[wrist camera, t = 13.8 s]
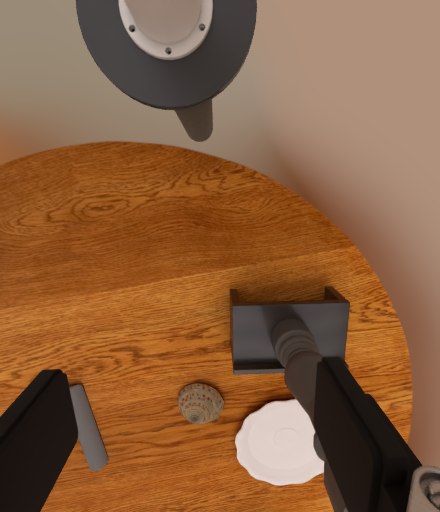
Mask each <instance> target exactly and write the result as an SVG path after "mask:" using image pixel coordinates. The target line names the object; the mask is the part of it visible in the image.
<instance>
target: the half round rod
mask: <svg viewBox="0 0 440 512" xmlns="http://www.w3.org/2000/svg"><path fill="white" fill-rule="evenodd" d="M69 388H70V393H71V398H72V403H73V407H74V412H75V417H76V422H77V427H78V439H79V441H80V444H81V447H82V449H83V452H84V455H85V457H86V460H87V463H88V465H89V468H90V469H91V470H93V471H97V470H100V469H102V468H103V467H104V466H105V465H106V464H107V461H108V456H107V454H106V451H105V448H104V445H103V442H102V439H101V437H100V434H99V431H98V428H97V425H96V422H95V419H94V417H93V414H92V411H91V408H90V405H89V402H88V400H87V397H86V394H85V391H84V388H83V386H82V385H79V384H78V385H72V386H69Z"/></svg>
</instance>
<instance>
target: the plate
mask: <svg viewBox="0 0 440 512" xmlns="http://www.w3.org/2000/svg"><path fill="white" fill-rule="evenodd" d="M314 434H315V430H314V427H313V425H312V423H311V420H310V418H309V416H308V414H307V413H306V412H305V410H304V409H303V408H302V406H301V405H300V404H299V402H298V401H297V400H296V399H292V400H287V401H273V402H270V403H267V404H266V405H264V406H263V407H262V408H261V409H259V410H258V411H255V412H253V413H251V414H250V415H249V416H248V417H247V418H246V419H245V420H244V422H243V425H242V428H241V429H240V430H239V432H238V433H237V434H236V439H235V444H236V447H237V459H238V461H239V463H240V464H241V465H242V466H243V467H244V468H246V469H247V471H248V472H249V474H250V475H251V476H252V477H254V478H255V479H258V480H262V481H266V482H269V483H271V484H273V485H280V486H282V485H287V484H301V483H304V482H307V481H309V480H310V479H312V478H313V477H314V476H316V475H319V474H321V473H323V472H324V461H322V460H321V459H320V458H319V457H318V456H317V454H316V452H315V450H314V447H313V438H314Z"/></svg>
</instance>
